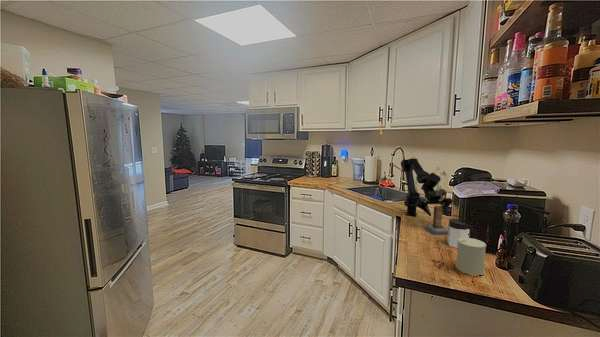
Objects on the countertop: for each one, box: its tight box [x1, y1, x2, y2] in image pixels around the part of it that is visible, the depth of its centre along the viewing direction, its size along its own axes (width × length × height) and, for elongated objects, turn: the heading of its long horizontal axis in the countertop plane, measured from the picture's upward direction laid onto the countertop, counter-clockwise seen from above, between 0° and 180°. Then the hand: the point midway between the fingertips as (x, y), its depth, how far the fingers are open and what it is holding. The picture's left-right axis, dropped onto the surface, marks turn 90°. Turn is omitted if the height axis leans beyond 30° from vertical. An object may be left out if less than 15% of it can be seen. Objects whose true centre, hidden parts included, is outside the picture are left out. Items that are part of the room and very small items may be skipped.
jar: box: [447, 218, 470, 249], centre depth 119 cm, size 9×8×12 cm
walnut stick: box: [432, 205, 443, 228], centre depth 137 cm, size 3×3×13 cm
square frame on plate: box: [423, 223, 448, 236], centre depth 137 cm, size 10×10×3 cm
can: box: [455, 237, 487, 276], centre depth 96 cm, size 9×9×12 cm
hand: (439, 215), depth 135 cm, fingers open, 9 cm apart
